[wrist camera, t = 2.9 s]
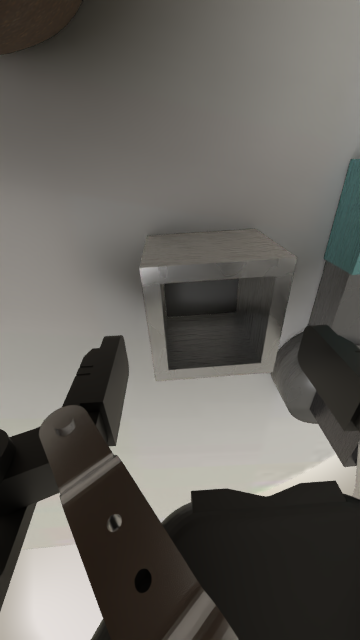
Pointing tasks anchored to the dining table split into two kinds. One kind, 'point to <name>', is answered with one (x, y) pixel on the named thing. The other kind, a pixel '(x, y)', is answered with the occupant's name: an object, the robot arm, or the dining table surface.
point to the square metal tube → (221, 328)
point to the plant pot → (32, 21)
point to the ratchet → (329, 321)
